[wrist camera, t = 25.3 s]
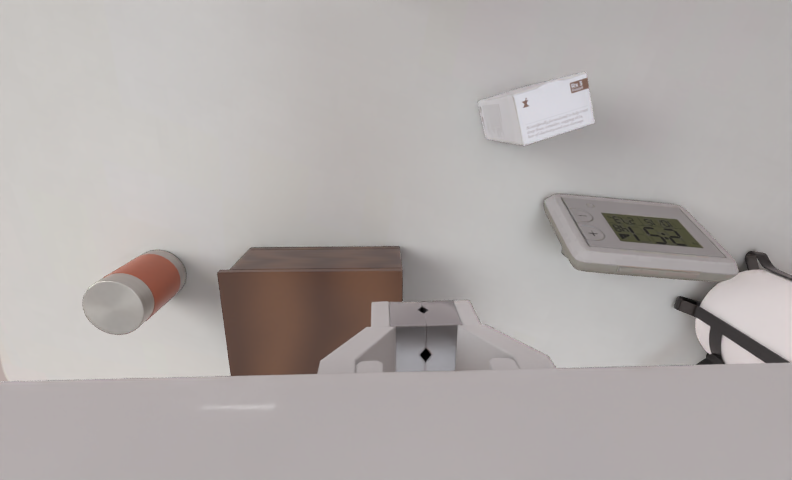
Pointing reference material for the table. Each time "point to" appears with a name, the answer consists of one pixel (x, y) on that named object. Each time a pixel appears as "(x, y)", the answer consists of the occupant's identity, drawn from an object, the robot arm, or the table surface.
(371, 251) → the chest
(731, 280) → the coffee press
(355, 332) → the lid
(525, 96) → the cosmetic box
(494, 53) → the table surface
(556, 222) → the digital clock
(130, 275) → the can
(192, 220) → the table surface
